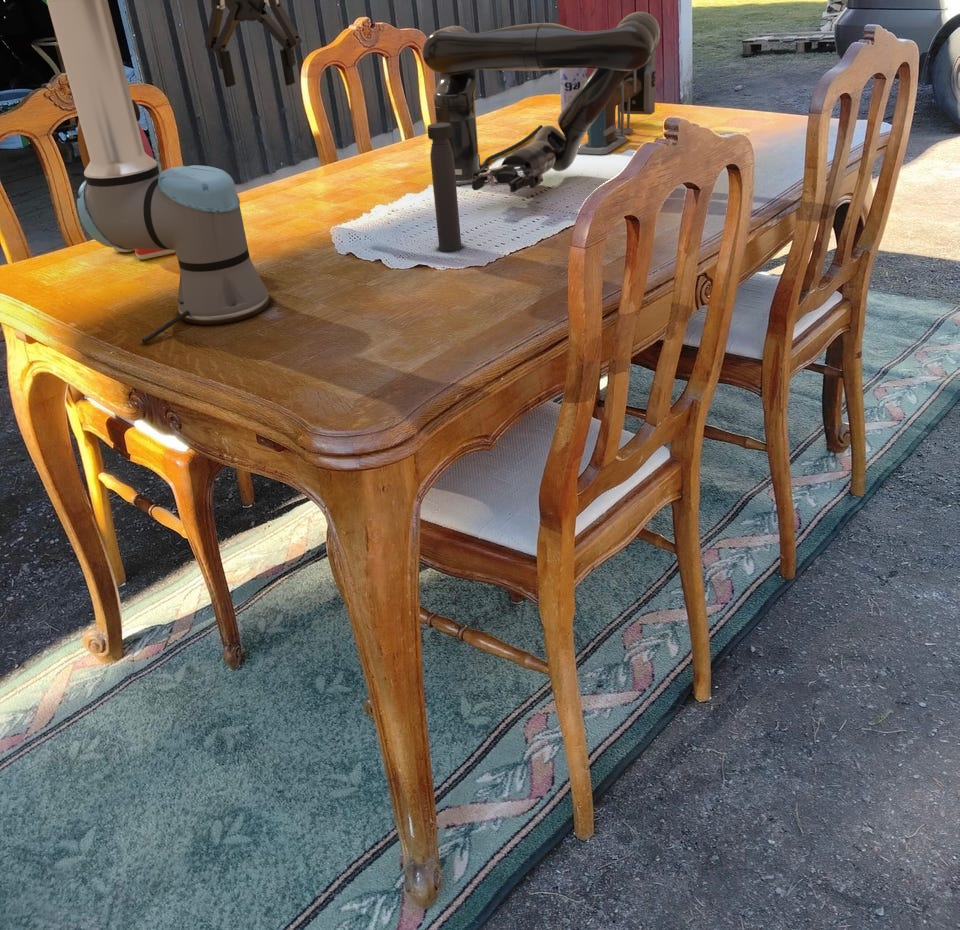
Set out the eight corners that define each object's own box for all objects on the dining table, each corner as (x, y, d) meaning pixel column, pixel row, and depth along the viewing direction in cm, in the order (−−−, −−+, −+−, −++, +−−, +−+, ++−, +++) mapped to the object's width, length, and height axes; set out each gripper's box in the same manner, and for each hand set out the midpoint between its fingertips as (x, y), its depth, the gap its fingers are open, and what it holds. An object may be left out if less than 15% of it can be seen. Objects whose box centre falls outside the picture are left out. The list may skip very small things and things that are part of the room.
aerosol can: (559, 122, 275) (557, 47, 265) (562, 117, 282) (559, 42, 272) (587, 121, 274) (585, 45, 263) (589, 115, 280) (587, 41, 270)
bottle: (434, 249, 185) (422, 129, 174) (448, 243, 188) (437, 124, 177) (452, 252, 183) (441, 130, 172) (465, 246, 186) (455, 125, 175)
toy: (197, 251, 195) (161, 95, 180) (152, 266, 189) (111, 105, 174) (143, 235, 208) (105, 88, 193) (99, 248, 202) (57, 97, 187)
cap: (423, 138, 175) (422, 126, 174) (438, 133, 178) (437, 121, 177) (442, 140, 173) (440, 128, 172) (456, 135, 175) (455, 123, 174)
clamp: (605, 154, 239) (605, 62, 228) (573, 153, 243) (571, 62, 232) (654, 123, 265) (655, 39, 254) (624, 122, 269) (624, 39, 258)
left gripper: (306, -38, 185) (324, 79, 195) (192, -31, 192) (215, 83, 202) (289, -35, 178) (307, 86, 189) (172, -27, 186) (197, 89, 196)
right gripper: (494, 147, 210) (460, 166, 198) (554, 149, 205) (523, 169, 192) (496, 182, 214) (463, 203, 202) (556, 185, 208) (525, 206, 196)
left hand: (260, 85), depth 196 cm, fingers open, 13 cm apart
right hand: (492, 186), depth 197 cm, fingers open, 8 cm apart
